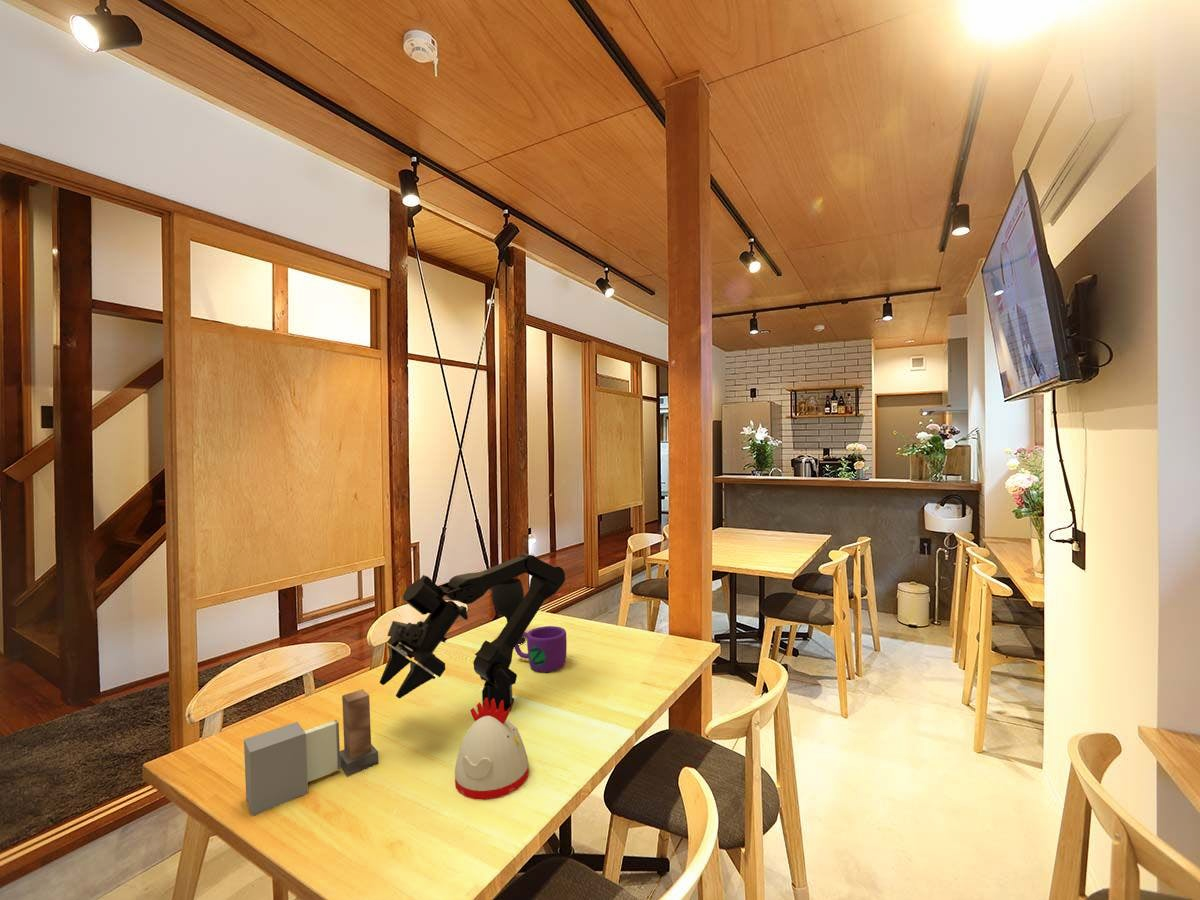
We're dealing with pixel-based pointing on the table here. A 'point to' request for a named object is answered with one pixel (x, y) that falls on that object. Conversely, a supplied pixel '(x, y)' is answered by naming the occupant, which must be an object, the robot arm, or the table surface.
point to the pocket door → (322, 750)
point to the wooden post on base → (357, 734)
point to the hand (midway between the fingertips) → (389, 690)
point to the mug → (545, 648)
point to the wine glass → (508, 598)
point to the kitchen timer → (490, 755)
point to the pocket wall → (275, 767)
